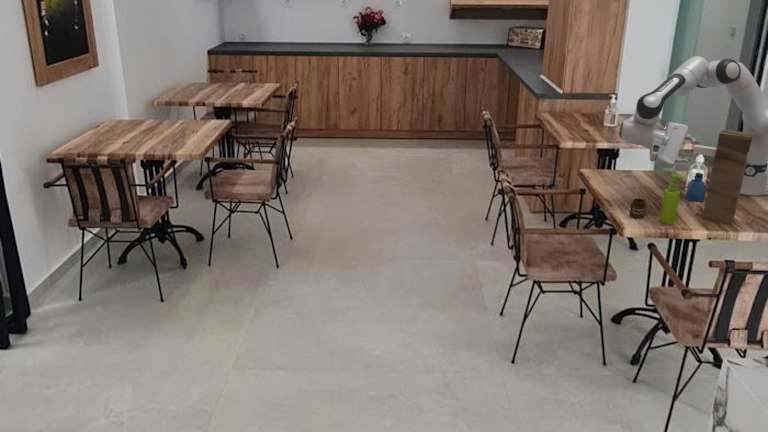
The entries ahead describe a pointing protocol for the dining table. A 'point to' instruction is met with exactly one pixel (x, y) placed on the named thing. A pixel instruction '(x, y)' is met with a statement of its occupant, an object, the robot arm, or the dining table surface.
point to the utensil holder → (638, 207)
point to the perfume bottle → (696, 189)
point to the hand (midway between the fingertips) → (692, 151)
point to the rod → (705, 150)
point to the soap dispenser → (670, 201)
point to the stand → (727, 176)
